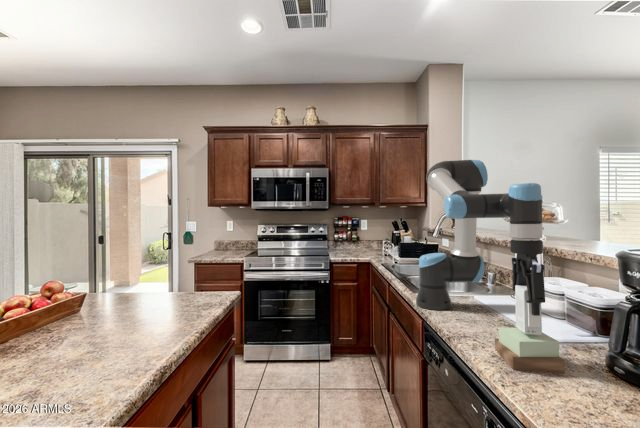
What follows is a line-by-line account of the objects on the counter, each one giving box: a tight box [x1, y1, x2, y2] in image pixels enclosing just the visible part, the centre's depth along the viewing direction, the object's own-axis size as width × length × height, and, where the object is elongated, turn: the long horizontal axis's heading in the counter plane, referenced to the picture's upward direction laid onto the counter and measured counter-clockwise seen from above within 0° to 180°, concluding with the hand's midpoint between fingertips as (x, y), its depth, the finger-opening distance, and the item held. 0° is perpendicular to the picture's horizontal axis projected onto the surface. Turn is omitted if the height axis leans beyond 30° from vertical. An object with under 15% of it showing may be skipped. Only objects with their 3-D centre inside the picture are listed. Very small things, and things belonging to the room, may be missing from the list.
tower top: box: [498, 327, 560, 357], centre depth 84 cm, size 10×10×4 cm
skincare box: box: [514, 285, 543, 335], centre depth 84 cm, size 6×4×12 cm
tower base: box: [494, 338, 566, 374], centre depth 84 cm, size 12×12×4 cm
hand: (528, 322), depth 84 cm, fingers closed on skincare box, 6 cm apart
